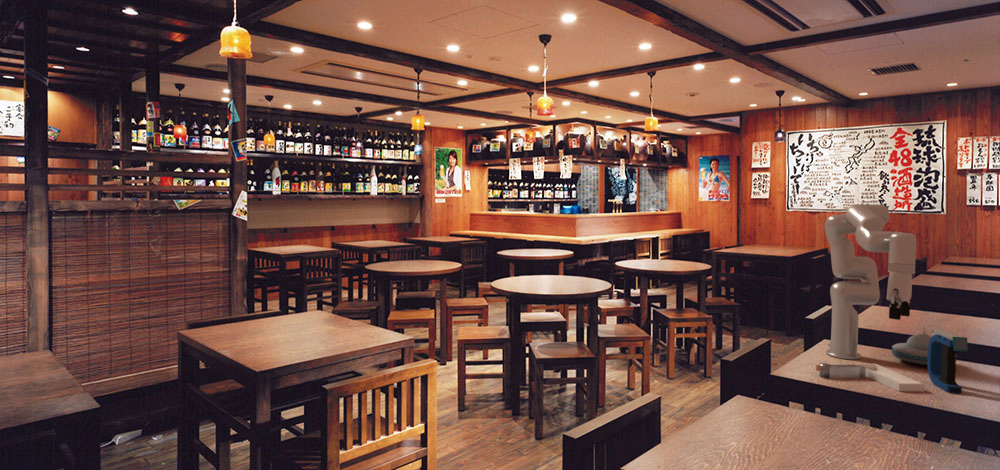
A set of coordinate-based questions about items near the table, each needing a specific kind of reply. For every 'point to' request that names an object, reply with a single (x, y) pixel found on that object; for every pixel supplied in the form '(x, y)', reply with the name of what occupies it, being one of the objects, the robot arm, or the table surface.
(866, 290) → the robot arm
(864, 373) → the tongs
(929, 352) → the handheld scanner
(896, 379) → the tongs rest
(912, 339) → the toy
